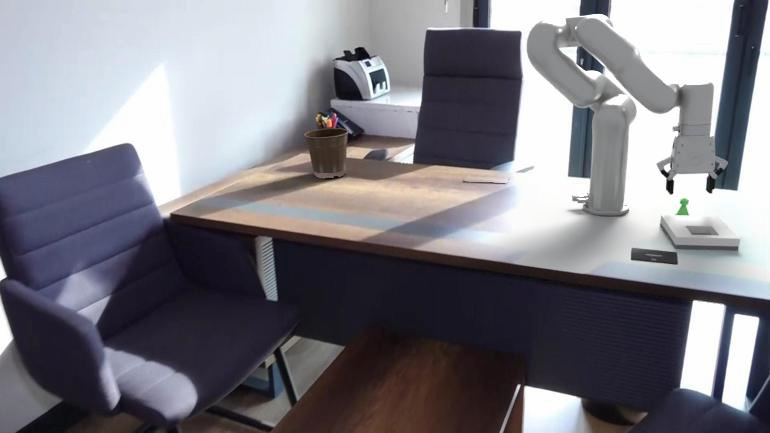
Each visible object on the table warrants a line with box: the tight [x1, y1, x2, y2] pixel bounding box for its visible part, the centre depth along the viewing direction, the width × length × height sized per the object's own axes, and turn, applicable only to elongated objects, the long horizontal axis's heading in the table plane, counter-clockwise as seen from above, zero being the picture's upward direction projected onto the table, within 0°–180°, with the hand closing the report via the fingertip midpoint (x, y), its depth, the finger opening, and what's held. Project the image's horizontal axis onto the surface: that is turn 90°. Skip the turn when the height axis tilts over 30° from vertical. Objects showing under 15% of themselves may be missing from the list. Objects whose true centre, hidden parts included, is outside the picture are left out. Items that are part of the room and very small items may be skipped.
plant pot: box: [303, 127, 349, 173], centre depth 224 cm, size 16×16×16 cm
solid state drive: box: [630, 247, 678, 265], centre depth 144 cm, size 7×10×1 cm
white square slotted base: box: [659, 214, 741, 251], centre depth 154 cm, size 14×16×3 cm
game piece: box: [674, 197, 690, 216], centre depth 166 cm, size 4×4×6 cm
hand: (689, 192), depth 164 cm, fingers open, 9 cm apart
